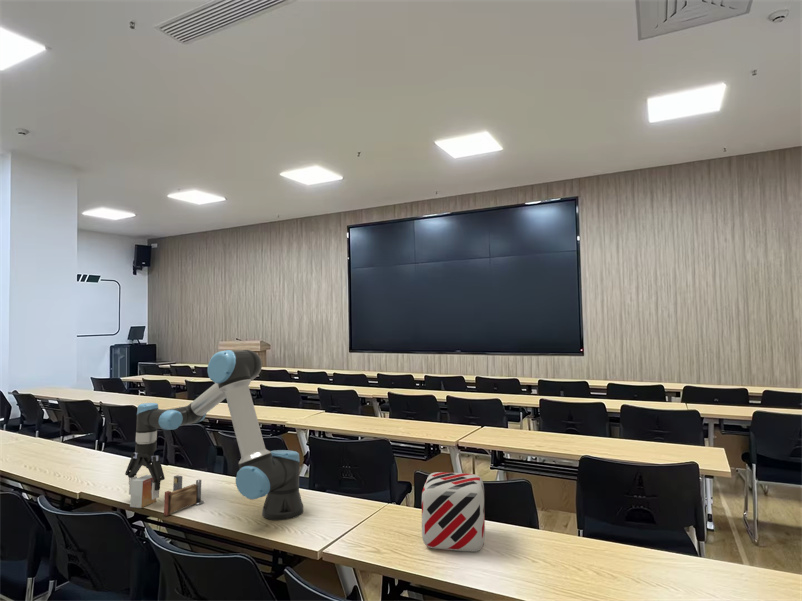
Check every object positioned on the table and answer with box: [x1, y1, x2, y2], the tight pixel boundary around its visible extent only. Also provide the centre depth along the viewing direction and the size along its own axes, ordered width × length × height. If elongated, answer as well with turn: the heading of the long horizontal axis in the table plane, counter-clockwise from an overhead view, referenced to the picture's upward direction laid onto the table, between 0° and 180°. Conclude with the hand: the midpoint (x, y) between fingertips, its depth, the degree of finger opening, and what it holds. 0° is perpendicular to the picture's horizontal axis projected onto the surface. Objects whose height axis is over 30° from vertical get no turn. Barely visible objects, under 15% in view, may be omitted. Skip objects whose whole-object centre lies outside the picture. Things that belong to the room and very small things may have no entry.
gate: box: [163, 483, 197, 516], centre depth 178 cm, size 13×2×8 cm, turn 155°
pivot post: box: [192, 479, 205, 506], centre depth 186 cm, size 4×4×9 cm
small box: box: [129, 474, 157, 509], centre depth 185 cm, size 8×6×10 cm
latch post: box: [172, 474, 183, 491], centre depth 194 cm, size 5×3×8 cm, turn 65°
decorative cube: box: [421, 471, 486, 552], centre depth 152 cm, size 20×20×20 cm
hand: (143, 496), depth 184 cm, fingers open, 13 cm apart
